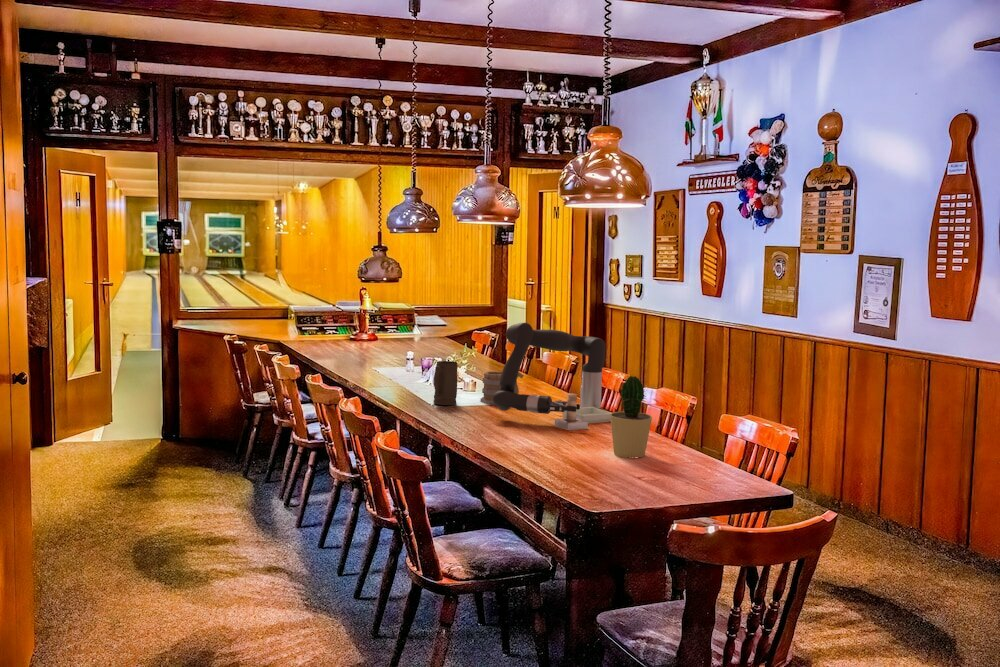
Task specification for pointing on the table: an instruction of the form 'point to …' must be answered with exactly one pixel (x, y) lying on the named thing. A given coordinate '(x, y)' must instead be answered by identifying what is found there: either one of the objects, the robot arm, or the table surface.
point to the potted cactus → (631, 421)
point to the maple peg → (571, 402)
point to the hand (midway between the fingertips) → (577, 407)
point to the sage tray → (591, 415)
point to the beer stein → (445, 383)
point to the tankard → (493, 386)
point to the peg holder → (571, 424)
